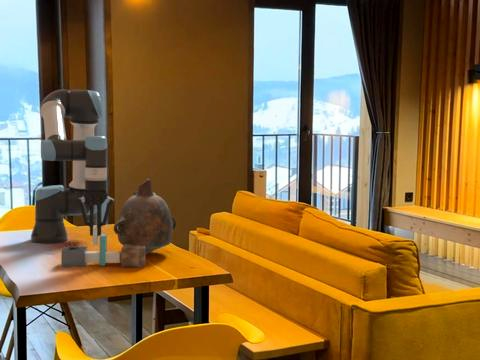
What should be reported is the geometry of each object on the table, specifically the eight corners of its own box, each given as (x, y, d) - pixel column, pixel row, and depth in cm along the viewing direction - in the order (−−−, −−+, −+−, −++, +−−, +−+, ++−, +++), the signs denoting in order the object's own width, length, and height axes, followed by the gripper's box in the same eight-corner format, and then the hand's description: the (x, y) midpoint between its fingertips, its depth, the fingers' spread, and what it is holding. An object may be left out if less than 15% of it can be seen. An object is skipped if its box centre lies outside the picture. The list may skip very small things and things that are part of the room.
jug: (140, 246, 266) (141, 174, 263) (184, 252, 257) (185, 177, 254) (103, 256, 244) (103, 178, 241) (149, 263, 235) (151, 182, 232)
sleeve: (61, 267, 225) (61, 250, 225) (64, 262, 232) (64, 246, 232) (84, 267, 226) (84, 250, 226) (87, 262, 233) (87, 246, 233)
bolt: (73, 265, 227) (73, 236, 226) (76, 262, 232) (76, 233, 231) (119, 265, 228) (119, 236, 227) (120, 262, 233) (120, 233, 232)
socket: (121, 267, 227) (121, 248, 226) (123, 262, 235) (123, 244, 234) (144, 267, 228) (144, 248, 227) (145, 262, 236) (145, 244, 235)
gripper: (75, 179, 223) (75, 246, 225) (113, 180, 224) (112, 246, 226) (78, 178, 230) (78, 242, 232) (115, 178, 231) (114, 242, 233)
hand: (95, 244), depth 229 cm, fingers closed
